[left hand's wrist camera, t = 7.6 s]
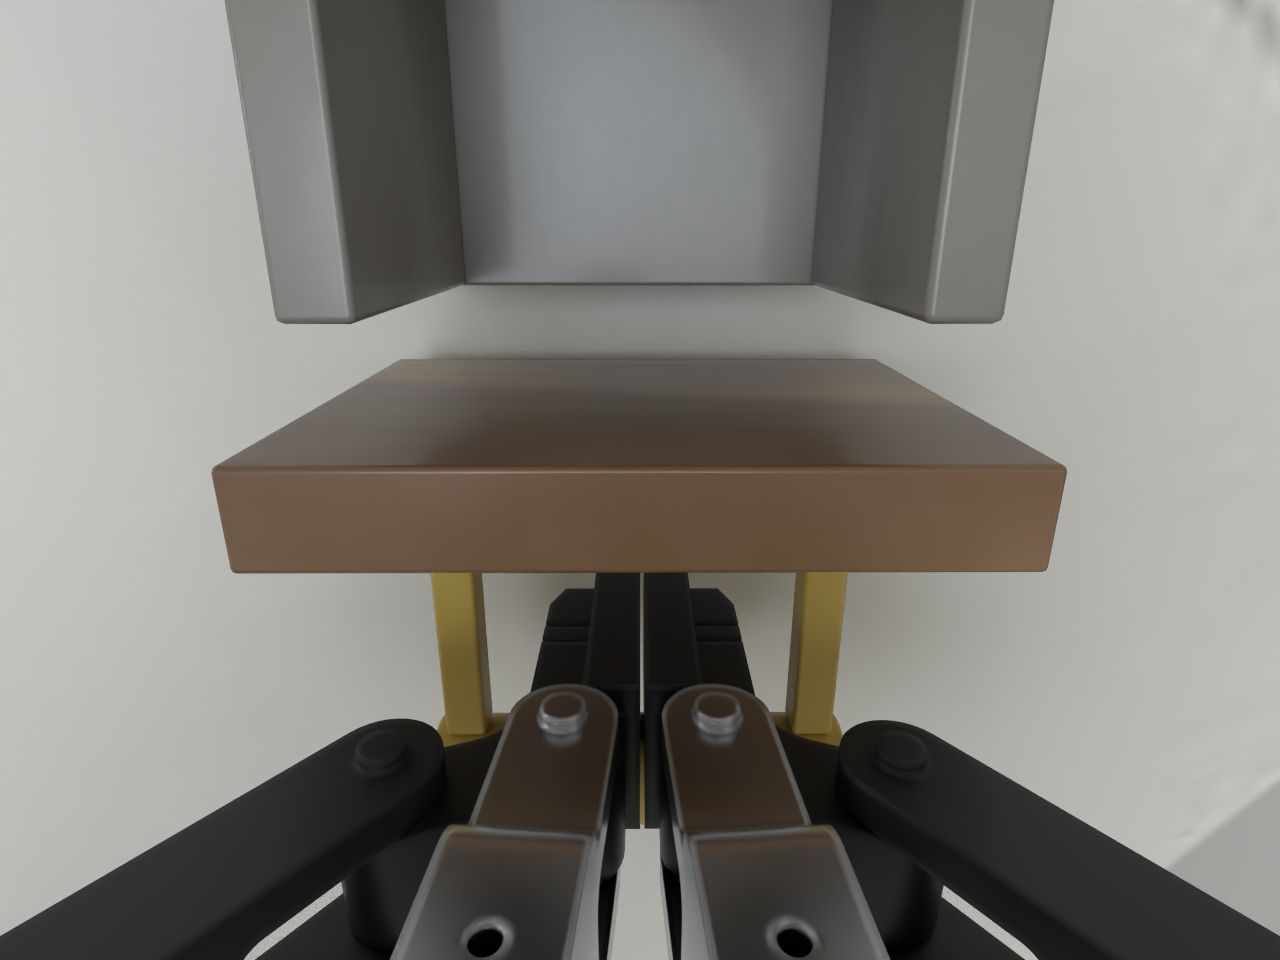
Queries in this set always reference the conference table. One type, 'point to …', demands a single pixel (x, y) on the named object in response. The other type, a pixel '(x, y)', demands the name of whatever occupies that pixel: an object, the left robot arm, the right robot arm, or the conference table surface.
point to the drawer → (639, 255)
